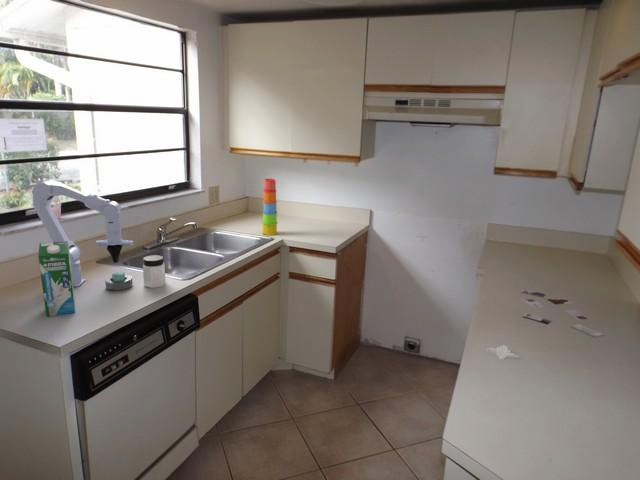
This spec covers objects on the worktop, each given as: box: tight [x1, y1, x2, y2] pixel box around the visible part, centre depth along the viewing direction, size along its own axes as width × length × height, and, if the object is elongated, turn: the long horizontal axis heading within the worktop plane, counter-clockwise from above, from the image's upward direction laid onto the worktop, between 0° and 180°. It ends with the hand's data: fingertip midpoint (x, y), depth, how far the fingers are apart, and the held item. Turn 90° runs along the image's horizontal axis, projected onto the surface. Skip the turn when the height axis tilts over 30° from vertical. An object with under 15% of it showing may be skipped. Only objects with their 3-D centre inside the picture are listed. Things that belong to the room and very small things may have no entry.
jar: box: [142, 254, 167, 289], centre depth 190 cm, size 9×8×12 cm
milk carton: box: [38, 241, 76, 318], centre depth 161 cm, size 9×9×25 cm
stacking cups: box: [261, 178, 279, 236], centre depth 278 cm, size 10×10×35 cm
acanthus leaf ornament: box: [486, 345, 520, 361], centre depth 146 cm, size 8×7×2 cm
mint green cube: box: [111, 271, 126, 282], centre depth 187 cm, size 5×5×4 cm
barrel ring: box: [104, 274, 133, 292], centre depth 188 cm, size 10×10×3 cm
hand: (116, 261), depth 189 cm, fingers closed
